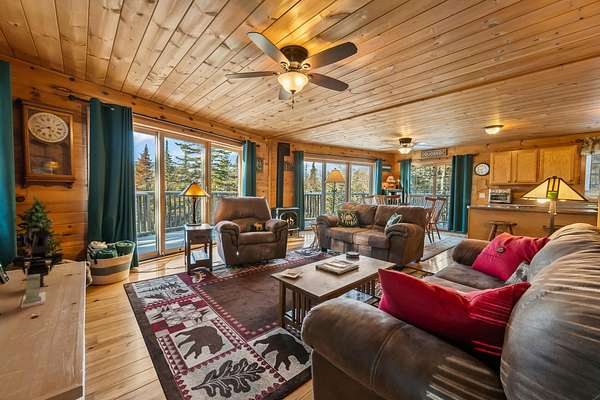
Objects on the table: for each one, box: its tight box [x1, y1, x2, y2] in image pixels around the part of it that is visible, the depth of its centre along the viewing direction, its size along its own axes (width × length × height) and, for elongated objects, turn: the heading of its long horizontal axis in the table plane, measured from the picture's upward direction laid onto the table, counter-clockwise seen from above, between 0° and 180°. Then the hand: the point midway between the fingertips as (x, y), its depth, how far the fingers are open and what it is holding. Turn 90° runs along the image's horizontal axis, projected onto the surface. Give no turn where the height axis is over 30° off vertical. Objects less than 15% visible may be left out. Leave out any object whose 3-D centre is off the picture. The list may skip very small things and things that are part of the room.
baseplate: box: [20, 291, 47, 309], centre depth 128 cm, size 16×8×1 cm, turn 45°
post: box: [25, 274, 41, 303], centre depth 125 cm, size 4×4×12 cm
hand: (37, 272), depth 131 cm, fingers open, 9 cm apart
